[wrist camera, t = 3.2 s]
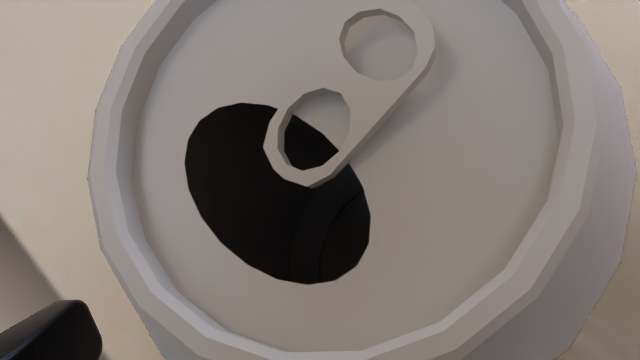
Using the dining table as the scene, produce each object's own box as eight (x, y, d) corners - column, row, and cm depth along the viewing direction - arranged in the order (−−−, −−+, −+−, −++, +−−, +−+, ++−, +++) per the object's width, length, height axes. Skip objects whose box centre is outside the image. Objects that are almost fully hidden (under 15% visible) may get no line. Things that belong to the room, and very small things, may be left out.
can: (251, 277, 19) (-65, 152, 8) (404, 109, 19) (308, -232, 8) (426, 459, 16) (318, 666, 5) (601, 258, 16) (860, 40, 5)
